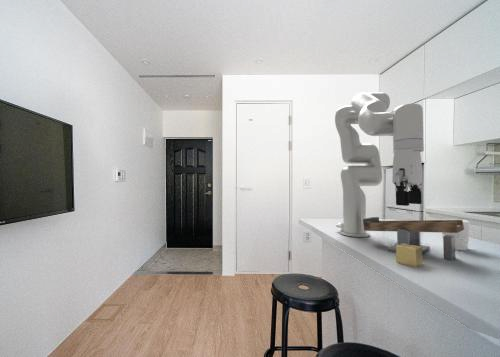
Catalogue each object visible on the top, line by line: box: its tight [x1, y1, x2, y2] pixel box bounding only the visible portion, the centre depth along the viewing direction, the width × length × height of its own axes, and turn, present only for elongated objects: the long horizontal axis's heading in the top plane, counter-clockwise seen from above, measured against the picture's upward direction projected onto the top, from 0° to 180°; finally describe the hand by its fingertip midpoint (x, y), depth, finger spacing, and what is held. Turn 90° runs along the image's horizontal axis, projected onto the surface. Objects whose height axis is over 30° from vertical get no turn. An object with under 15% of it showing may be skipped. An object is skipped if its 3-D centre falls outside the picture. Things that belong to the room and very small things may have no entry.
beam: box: [363, 216, 464, 233], centre depth 83 cm, size 28×8×5 cm, turn 37°
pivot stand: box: [387, 228, 431, 254], centre depth 82 cm, size 8×14×8 cm, turn 127°
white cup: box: [440, 218, 471, 251], centre depth 86 cm, size 8×8×10 cm
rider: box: [395, 243, 423, 268], centre depth 69 cm, size 5×5×5 cm
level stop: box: [442, 235, 456, 261], centre depth 74 cm, size 2×4×7 cm, turn 127°
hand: (409, 204), depth 69 cm, fingers open, 9 cm apart
